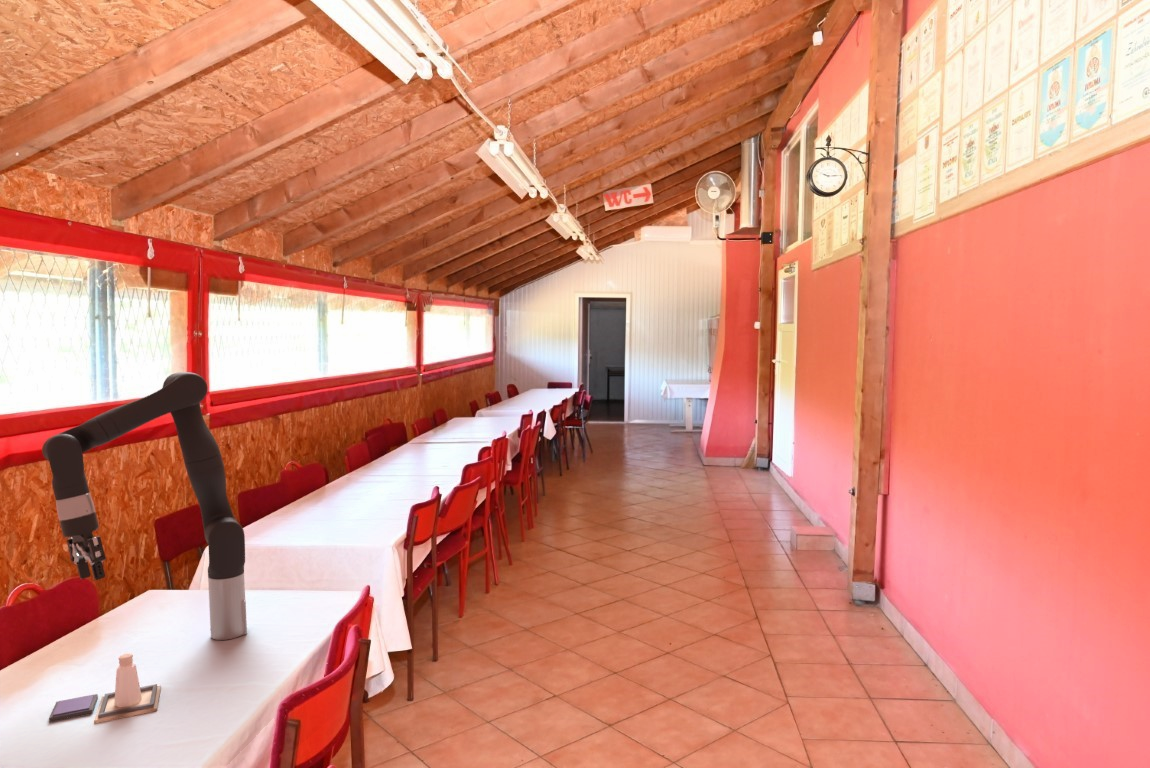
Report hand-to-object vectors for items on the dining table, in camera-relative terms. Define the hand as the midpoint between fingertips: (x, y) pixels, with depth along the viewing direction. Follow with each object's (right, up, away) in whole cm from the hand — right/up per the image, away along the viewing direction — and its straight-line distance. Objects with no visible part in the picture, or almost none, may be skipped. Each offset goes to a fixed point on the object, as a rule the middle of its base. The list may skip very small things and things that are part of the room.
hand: (92, 578), depth 181 cm
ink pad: (+5, -26, -14) cm, 30 cm away
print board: (+16, -26, -12) cm, 33 cm away
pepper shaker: (+16, -25, -12) cm, 32 cm away
